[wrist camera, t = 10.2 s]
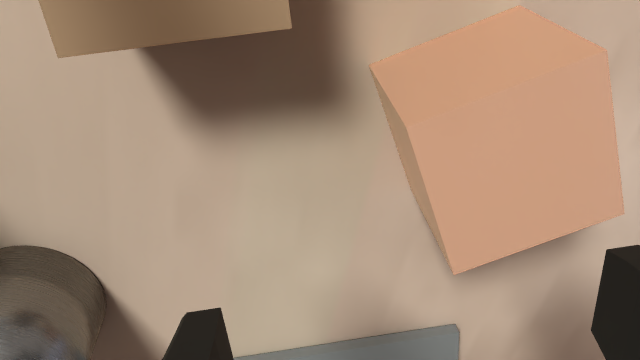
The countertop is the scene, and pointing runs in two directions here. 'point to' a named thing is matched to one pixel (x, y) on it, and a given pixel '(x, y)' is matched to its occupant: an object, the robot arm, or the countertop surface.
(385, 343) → the mat
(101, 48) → the walnut block
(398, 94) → the terracotta block
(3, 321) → the metal canister
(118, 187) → the countertop surface
